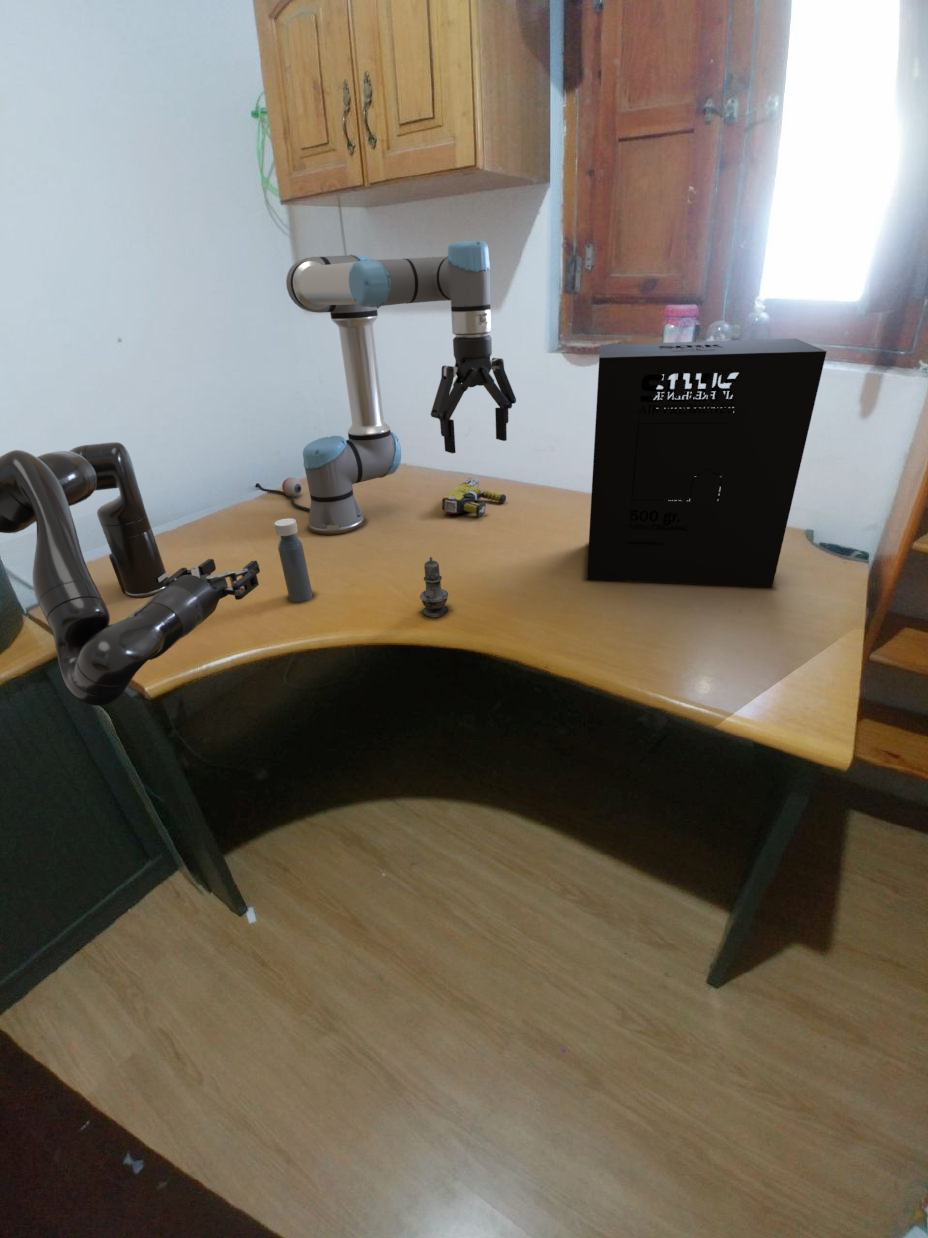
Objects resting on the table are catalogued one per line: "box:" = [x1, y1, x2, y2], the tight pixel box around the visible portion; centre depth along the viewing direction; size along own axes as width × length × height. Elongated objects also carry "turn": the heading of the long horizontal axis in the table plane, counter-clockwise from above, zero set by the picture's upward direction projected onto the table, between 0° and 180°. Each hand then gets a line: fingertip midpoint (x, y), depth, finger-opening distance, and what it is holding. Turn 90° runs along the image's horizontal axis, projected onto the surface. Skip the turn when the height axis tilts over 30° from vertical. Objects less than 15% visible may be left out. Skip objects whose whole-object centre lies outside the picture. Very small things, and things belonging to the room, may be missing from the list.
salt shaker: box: [419, 556, 450, 618], centre depth 120 cm, size 6×6×12 cm
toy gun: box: [441, 477, 507, 518], centre depth 177 cm, size 5×24×15 cm
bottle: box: [277, 533, 313, 603], centre depth 128 cm, size 5×5×17 cm
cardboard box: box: [586, 338, 828, 589], centre depth 126 cm, size 38×20×45 cm, turn 78°
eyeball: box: [281, 477, 303, 498], centre depth 192 cm, size 6×6×6 cm
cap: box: [274, 517, 299, 537], centre depth 124 cm, size 4×4×2 cm
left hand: (234, 564), depth 107 cm, fingers open, 8 cm apart
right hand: (476, 445), depth 127 cm, fingers open, 13 cm apart
